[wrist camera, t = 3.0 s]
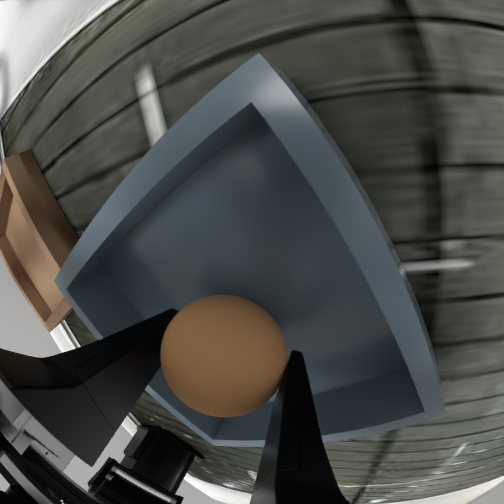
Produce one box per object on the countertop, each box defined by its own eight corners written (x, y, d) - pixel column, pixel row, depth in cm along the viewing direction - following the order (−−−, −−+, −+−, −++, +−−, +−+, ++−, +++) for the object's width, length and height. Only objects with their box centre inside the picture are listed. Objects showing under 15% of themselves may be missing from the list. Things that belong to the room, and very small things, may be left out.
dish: (435, 357, 10) (445, 413, 7) (231, 407, 16) (213, 445, 14) (287, 76, 7) (258, 52, 4) (94, 252, 14) (53, 281, 11)
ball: (317, 340, 11) (295, 437, 7) (236, 363, 13) (198, 438, 9) (255, 252, 10) (195, 340, 6) (176, 294, 12) (115, 364, 8)
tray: (105, 277, 14) (80, 297, 12) (65, 318, 19) (49, 332, 17) (30, 149, 12) (3, 158, 10) (9, 226, 17) (-9, 236, 15)
